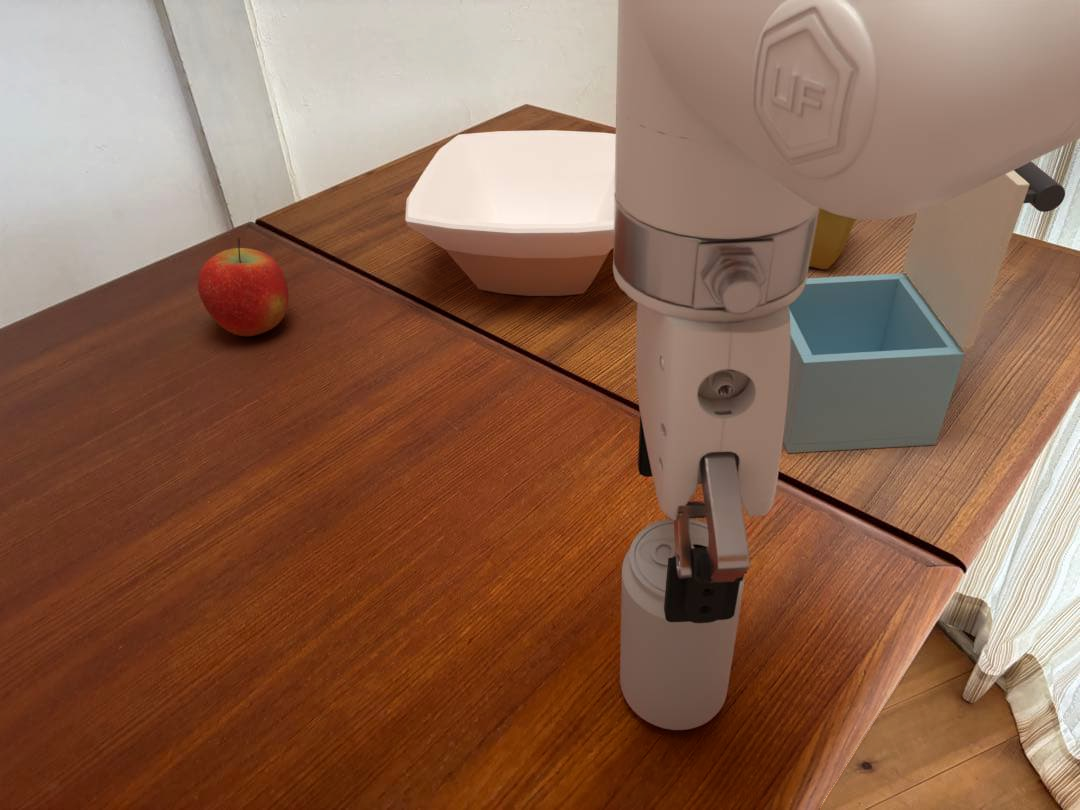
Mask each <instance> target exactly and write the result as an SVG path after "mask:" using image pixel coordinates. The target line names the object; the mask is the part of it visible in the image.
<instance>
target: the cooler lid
mask: <svg viewBox="0 0 1080 810" xmlns="http://www.w3.org/2000/svg"><path fill="white" fill-rule="evenodd" d="M1065 198H1066V190H1065V188H1064V187H1063V185H1061V184H1060V183H1059V182H1057V180H1055V179H1053V178H1052V177H1051V176H1050V175H1049V174H1048V173H1046V172H1045V171H1044V170H1043V169H1042V168H1040V167H1039V166H1038V165H1037V164H1035V163H1034V162H1033V161H1031V162H1029V163H1027V164H1025V165H1023V166H1021V167H1019V168H1017V169H1015V170H1013V171H1011V172H1009V173H1006V174H1004V175H1002V176H1000V177H998V178H996V179H994V180H992V181H989V182H987V183H985V184H983V185H981V186H979V187H977V188H975V189H973V190H970V191H968V192H966V193H964V194H962V195H960V196H958V197H956V198H953V199H951V200H949V201H947V202H944V203H942V204H940V205H937V206H935V207H932V208H929V209H926V210H923V211H921V212H918V213H916V216H915V220H914V223H913V227H912V231H911V234H910V238H909V242H908V246H907V250H906V253H905V256H904V261H903V264H902V269H903V271H904V273H906V275H907V276H908V277H909V279H910V280H911V281H912V283H913V284H914V285H915V287H916V288H917V289H918V291H919V292H920V294H921V295H922V296H923V298H924V299H925V300H926V302H927V303H928V304H929V306H930V307H931V308H932V310H933V311H934V312H935V314H936V315H937V316H938V318H939V319H940V320H941V322H942V323H943V324H944V326H945V327H946V328H947V330H948V331H949V332H950V334H951V335H952V336H953V338H954V339H955V340H956V342H957V343H958V344H959V346H960V347H961V348H962V349H970V348H973V347H974V344H975V341H976V339H977V335H978V333H979V331H980V327H981V324H982V321H983V319H984V316H985V313H986V311H987V308H988V304H989V302H990V298H991V296H992V293H993V290H994V287H995V285H996V283H997V279H998V276H999V274H1000V271H1001V268H1002V264H1003V262H1004V259H1005V257H1006V253H1007V250H1008V248H1009V244H1010V242H1011V240H1012V236H1013V233H1014V230H1015V228H1016V225H1017V223H1018V219H1019V216H1020V213H1021V211H1022V209H1023V205H1024V204H1030V205H1031V206H1032V207H1033V208H1034V209H1036V210H1037V211H1038V212H1042V213H1048V212H1051V211H1053V210H1055V209H1057V208H1058V207H1059V206H1060V205H1061V204H1062V203H1063V201H1064V200H1065Z"/></svg>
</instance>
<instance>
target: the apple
mask: <svg viewBox="0 0 1080 810" xmlns="http://www.w3.org/2000/svg"><path fill="white" fill-rule="evenodd" d="M240 244H241V237H240V236H238V237H237V247H234V248H229V249H225V250H222V251H220V252H218V253H216V254H215V255H213V256H211V257H210V258H209V259H208V260H207V261H206V262H205V263H204V264H203V266H202V267H201V269H200V270H199V274H198V276H197V292H198V295H199V298H200V300H201V302H202V304H203V306H204V308H205V310H206V311H207V313H208V314H209V315H210V316H211V318H212V319H213V320H214V321H215V322H216V323H217V324H218V325H219V326H220V327H221V328H223V329H224V330H226V331H227V332H229V333H231V334H233V335H236V336H240V337H253V336H257V335H258V336H259V335H261V334H264V333H267V332H269V331H270V330H273V329H274V328H275V327H277V326H278V325H279V324H280V322H281V321H282V320H283V318H284V317H285V315H286V312H287V310H288V306H289V288H288V282H287V279H286V276H285V274H284V272H283V270H282V268H281V267H280V265H279V264H278V263H277V261H276V260H275V259H274V258H272V257H271V256H270V255H268V254H267V253H265V252H263V251H260V250H257V249H253V248H246V247H241V246H240Z"/></svg>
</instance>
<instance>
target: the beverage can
mask: <svg viewBox="0 0 1080 810" xmlns="http://www.w3.org/2000/svg"><path fill="white" fill-rule="evenodd" d="M689 519H690V531H691V548H708V544H709V535H708V526H707V522H704V521H701V520H698V519H695V518H689ZM674 556H676V555H675V536H674V520H673V519H671V518H666V519H662V520H658V521H655V522H653V523H651V524H649V525H647V526H646V527H644V528H643V529H642V530H640V531H639V532H638V533H637V534H636V535H635V537H634V539H633V541H632V542H631V545H630V548H629V550H628V551H627V552H626V554H625V556H624V557H623V562H622V565H621V597H620V598H621V599H620V601H621V602H620V650H619V651H620V652H619V653H620V654H619V655H620V657H619V661H620V662H619V683H620V690H621V692H622V696H623V697H624V699H625V701H626V703H627V705H628V706H629V707H630V708H631V709H632V711H633V712H634V713H635V714H636V715H637V716H639V718H641V719H643V721H645V722H647V723H649V724H651V725H653V726H656V727H658V728H661V729H664V730H671V731H685V730H691V729H695V728H699V727H701V726H703V725H705V724H707V723H709V722H710V721H711V720H712V719H713V718H714V717H715V716H716V715H717V714H718V713H719V712H720V711H721V710H722V708H723V706H724V705H725V702H726V699H727V695H728V690H729V683H730V677H731V670H732V665H733V658H734V652H735V651H734V650H735V645H736V638H737V632H738V625H739V618H740V612H741V606H742V599H743V593H744V587H745V586H744V585H745V576H744V577H743V580H742V581H740V585H739V591H738V597H737V602H736V608H735V614H734V616H733V617H732V618H730V619H727V620H717V621H714V622H710V623H693V622H668V621H667V620H666V618H665V613H664V601H665V590H666V579H667V567H668V558H672V557H674Z"/></svg>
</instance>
